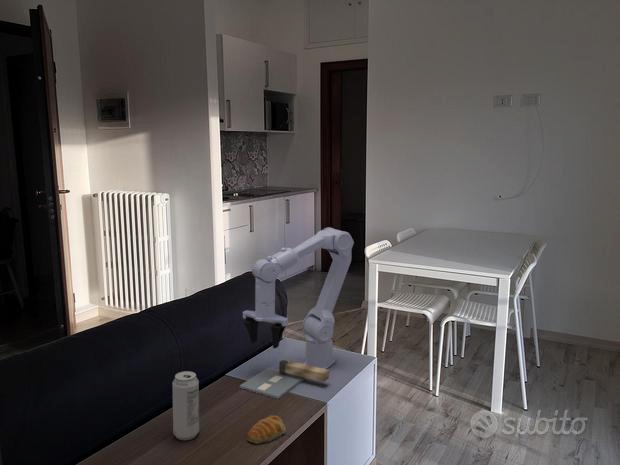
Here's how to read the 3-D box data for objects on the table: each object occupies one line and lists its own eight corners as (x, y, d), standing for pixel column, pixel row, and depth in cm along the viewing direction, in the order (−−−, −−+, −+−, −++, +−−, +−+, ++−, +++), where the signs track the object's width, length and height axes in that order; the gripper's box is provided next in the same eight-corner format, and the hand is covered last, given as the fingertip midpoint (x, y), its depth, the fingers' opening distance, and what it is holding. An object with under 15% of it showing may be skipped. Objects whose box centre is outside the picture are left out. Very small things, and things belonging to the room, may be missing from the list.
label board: (268, 369, 164) (268, 366, 164) (304, 379, 158) (304, 376, 158) (239, 388, 151) (239, 385, 151) (278, 399, 145) (278, 396, 145)
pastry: (259, 450, 121) (259, 434, 121) (240, 439, 126) (240, 424, 125) (288, 434, 128) (288, 419, 128) (268, 424, 133) (268, 410, 132)
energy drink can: (184, 425, 130) (183, 368, 128) (204, 431, 128) (203, 373, 125) (168, 437, 125) (166, 377, 123) (188, 444, 122) (187, 383, 120)
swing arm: (277, 373, 159) (277, 362, 158) (282, 369, 162) (282, 359, 161) (324, 384, 152) (324, 373, 152) (328, 380, 155) (329, 370, 154)
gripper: (236, 300, 155) (236, 344, 157) (279, 308, 148) (278, 354, 150) (250, 294, 161) (250, 337, 163) (291, 301, 154) (291, 346, 157)
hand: (264, 344), depth 157 cm, fingers open, 7 cm apart
